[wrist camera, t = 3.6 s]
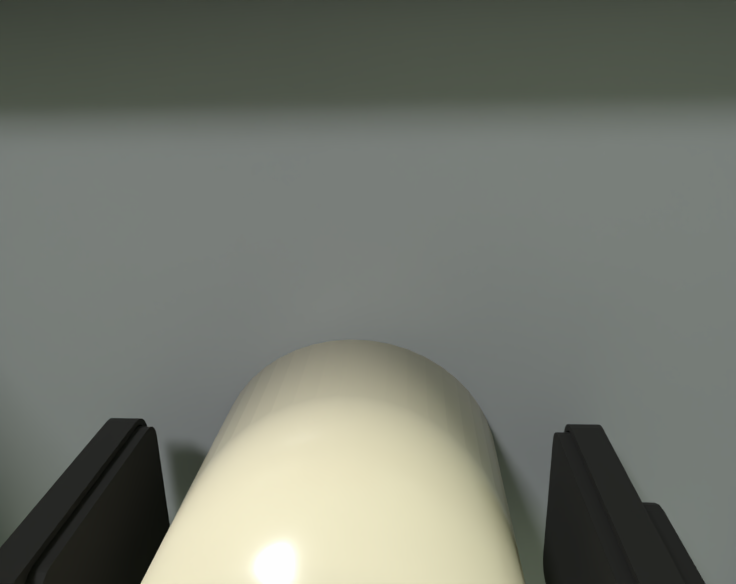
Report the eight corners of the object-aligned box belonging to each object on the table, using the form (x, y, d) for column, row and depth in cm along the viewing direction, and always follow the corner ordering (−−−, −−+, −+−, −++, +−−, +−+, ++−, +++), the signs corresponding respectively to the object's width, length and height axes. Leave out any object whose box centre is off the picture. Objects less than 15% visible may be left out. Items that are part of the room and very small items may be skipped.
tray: (751, 786, 15) (805, 900, 13) (10, 752, 16) (-47, 851, 14) (970, -85, 9) (1129, -127, 7) (-214, -46, 10) (-367, -72, 8)
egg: (364, 618, 14) (336, 961, 8) (166, 466, 13) (-3, 746, 7) (555, 466, 12) (664, 769, 7) (347, 281, 11) (294, 470, 6)
